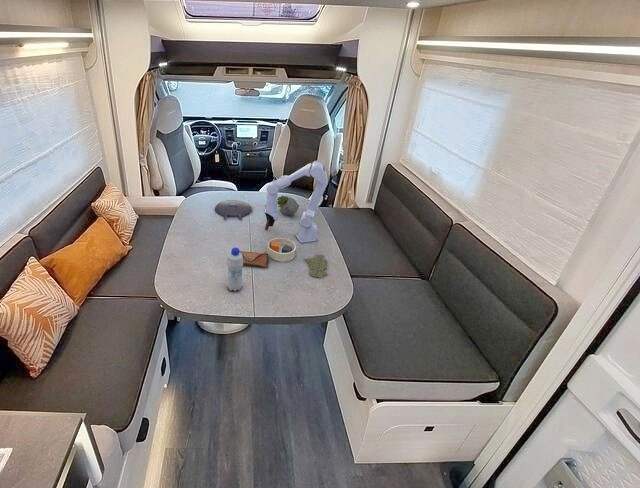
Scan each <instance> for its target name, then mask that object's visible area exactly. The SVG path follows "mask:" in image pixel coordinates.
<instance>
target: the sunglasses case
mask: <svg viewBox="0 0 640 488" xmlns="http://www.w3.org/2000/svg"><path fill="white" fill-rule="evenodd" d="M240 253H241V254H242V256H243V266H245V267H252V268H253V267H254V268H266V269H267V268H268V266H269V256H268V254H267V252H264V253H263V252H255V251H241V250H240ZM243 266H242V267H243Z"/></svg>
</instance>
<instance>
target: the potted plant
mask: <svg viewBox="0 0 640 488" xmlns="http://www.w3.org/2000/svg"><path fill="white" fill-rule="evenodd" d="M277 206H278V208H279V211H280V213H281V214H283V215H284V216H288V217H289V216H292V217H293V216H294V215H295V214H296V213H297V211H298V210H299V207H300V204H299V203H298V202H297V200H295V198H293V197H290V196H289V195H287V194H285V195H284V194H282V195H280V196H278V199H277Z"/></svg>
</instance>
